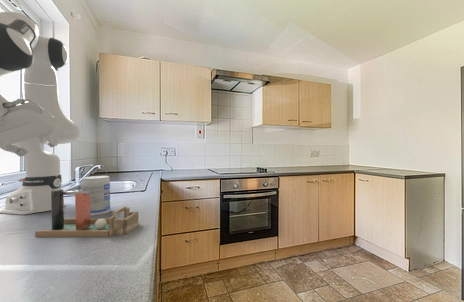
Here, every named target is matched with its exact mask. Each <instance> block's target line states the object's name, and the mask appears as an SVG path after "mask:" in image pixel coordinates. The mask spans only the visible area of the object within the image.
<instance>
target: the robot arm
mask: <svg viewBox="0 0 464 302" xmlns="http://www.w3.org/2000/svg"><path fill="white" fill-rule="evenodd" d="M68 59H69V53H68V50H67V47H66V46H65V43H64V42H62V41H61V40H59V39H57V38H54V37H48V36H44V35H41V34H40V32H39V28H38V26H37V24H36V23H35V22H34V21H33V20H32V19H31V18H30V17H28V16H26V15H25V14H22V13H21V12H16V11H1V12H0V77H3V76H5V75H8V74H10V73H14V72H18V71H21V70H22V80H21V81H22V95H23V98H17V99H16V100H10V99H9V98H7V97H6V96H5V95H4V94H2V93H1V92H0V149H1V150H3V151H4V152H9V153H13V154H15V155H17V156H18V157H23V159H24V164H25V173H26V174H25V177H24V178H20V179H19V182H21V183H22V184H21V186H20V187H18V188H17V190H14V191H13V192H12V193H10V194H9V195H7V197H6V198H5V204H4V205H5V206H4V207H1V208H0V214H7V215H8V214H9V215H20V216H21V215H24V216H25V215H29V214H34V213H42V212H43V213H44V212H49V211H51V191H52V190H59V189H62V180H63V178H62V174H61V159H60V157H59V156H58V155H57V154H55V153H53V152H51V151H47V150H45V149H44V148H43V147H42V145H47V146H48V147H50V148H53V147H57V146H58V145H63V144H64V145H65V144H71V143H76V141H77V140H78V139H79V137H80V132H81V130H80V128H79V126H78V124H77V123H76V122H74V121H73V120H71V119H70V118H69V117H68V116H67V115H66V114H65V112H64V111H63V109H62V108H61V104H60V100H59V89H58V88H59V87H58V85H59V83H58V77H57V71H59V69H61V68H64V66H66V65H67V63H68ZM65 206H66V203H65V202H64V207H65Z"/></svg>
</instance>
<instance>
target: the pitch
mask: <svg viewBox="0 0 464 302" xmlns="http://www.w3.org/2000/svg"><path fill="white" fill-rule="evenodd" d="M109 218H110V217H108V218H106V217H105V218H102V219H105V220H106V222H107V225H106V227H105V228H103V229H97V228H96V227H95V222H96V221H97V220H98V219H99V218H91V226H90V227H88V228H86V229H84V230H76V218H64V227H63V228H61V229H57V230H52V228H51V229H49V230H48V229H45V230H43V229H42V230H40V229H38V230H35V231H34V232H35V233H34V235H35V236H34V237H36V238H37V237H38V238H39V237H40V238H44V237H46V238H48V237H52V238H53V237H55V238H56V237H57V238H60V237H64V238H65V237H66V238H68V237H69V238H71V237H72V238H73V237H75V238H76V237H77V238H78V237H79V238H83V237H84V238H85V237H87V238H88V237H89V238H94V237H96V238H97V237H100V238H104V237H107V238H108V237H110V236H109ZM115 219H124V217H122V218H116V217H115Z"/></svg>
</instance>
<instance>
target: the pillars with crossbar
mask: <svg viewBox="0 0 464 302" xmlns="http://www.w3.org/2000/svg"><path fill="white" fill-rule="evenodd" d="M64 195H65V196H69V195H70V196H71V195H72V196H75V198H74V199H75V200H74V201H75V202H74V205H75V206H74V208H75V219H76V230H84V229H86V228H88V227H90V226H91V219H92V218H91V217H92V216H90V191H82V190H64V189H62V188H61V189H59V190H52V191H51V210H50V211H51V214H50V215H51V217H50V218H51V220H50V221H51V229H52V230H57V229H61V228H63V227H64V219H65V211H64V210H65V209H64V207H65V206H64V203H65V201H64V200H65V198H64Z"/></svg>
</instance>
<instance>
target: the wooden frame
mask: <svg viewBox="0 0 464 302" xmlns="http://www.w3.org/2000/svg"><path fill="white" fill-rule="evenodd" d="M121 213H123V218H124V219H115V218H116V216H118V215H119V214H121ZM108 218H109V236H108V237H113V236H114V235H115V236H117V235H120V236H121V235H122V236H123V235H127V234H128V233H130V232H131V231H132V230H134V229H135V228H136V227H137V226H138V225H139V211H130V207H127V206H126V205H124V206H122V207H120V208H118V209H117V210H114V211H113V212H112V215H111V216H110V217H108Z"/></svg>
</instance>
